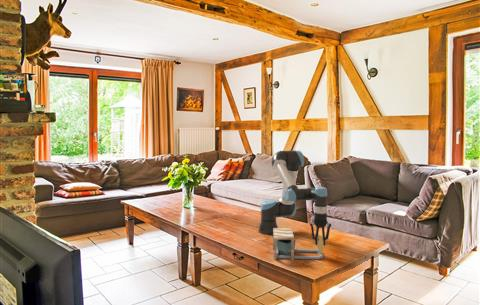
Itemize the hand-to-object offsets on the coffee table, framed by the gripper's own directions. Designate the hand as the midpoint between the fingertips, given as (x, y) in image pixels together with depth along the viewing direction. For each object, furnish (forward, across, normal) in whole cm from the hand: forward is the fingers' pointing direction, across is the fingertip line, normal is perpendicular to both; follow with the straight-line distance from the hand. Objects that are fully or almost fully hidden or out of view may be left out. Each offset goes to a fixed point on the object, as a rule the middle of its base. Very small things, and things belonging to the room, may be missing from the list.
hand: (319, 250), depth 222 cm
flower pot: (+4, -21, 0) cm, 21 cm away
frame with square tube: (+3, -13, 0) cm, 14 cm away
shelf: (+4, -23, 0) cm, 23 cm away
